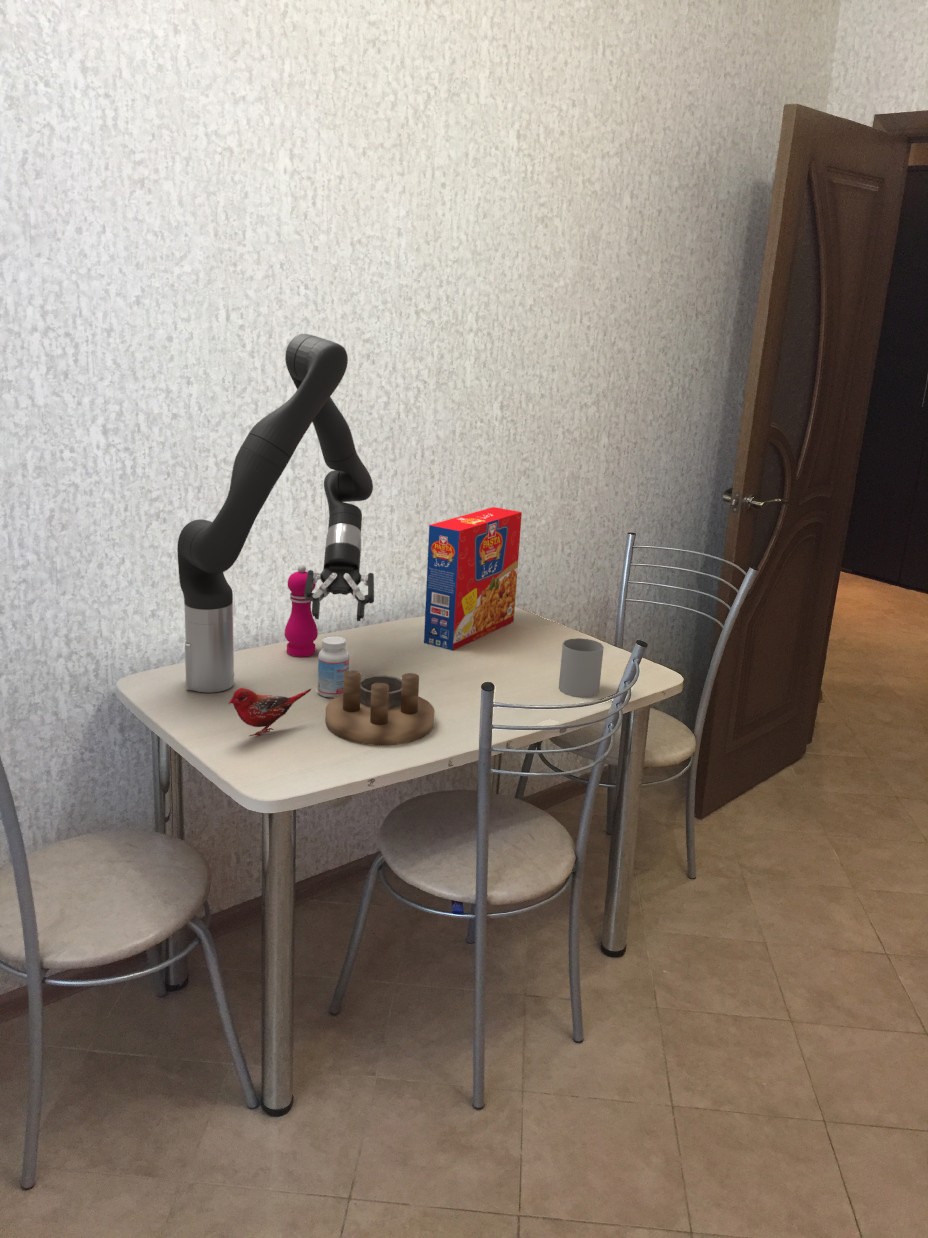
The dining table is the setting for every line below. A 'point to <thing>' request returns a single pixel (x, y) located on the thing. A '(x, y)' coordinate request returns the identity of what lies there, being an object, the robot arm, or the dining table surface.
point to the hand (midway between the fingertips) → (337, 618)
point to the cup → (580, 667)
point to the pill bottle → (332, 666)
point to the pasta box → (471, 576)
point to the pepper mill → (300, 618)
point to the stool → (380, 710)
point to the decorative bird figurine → (261, 707)
